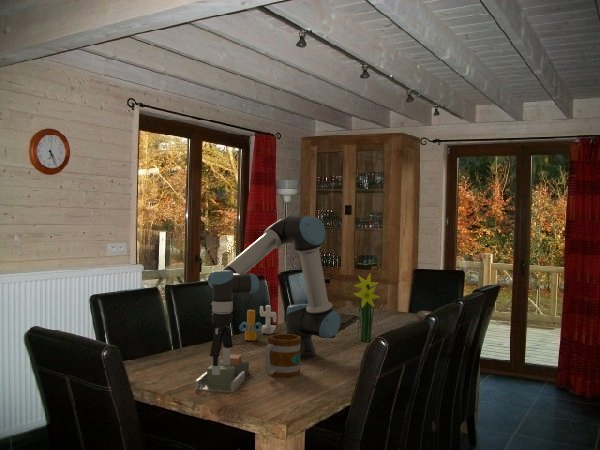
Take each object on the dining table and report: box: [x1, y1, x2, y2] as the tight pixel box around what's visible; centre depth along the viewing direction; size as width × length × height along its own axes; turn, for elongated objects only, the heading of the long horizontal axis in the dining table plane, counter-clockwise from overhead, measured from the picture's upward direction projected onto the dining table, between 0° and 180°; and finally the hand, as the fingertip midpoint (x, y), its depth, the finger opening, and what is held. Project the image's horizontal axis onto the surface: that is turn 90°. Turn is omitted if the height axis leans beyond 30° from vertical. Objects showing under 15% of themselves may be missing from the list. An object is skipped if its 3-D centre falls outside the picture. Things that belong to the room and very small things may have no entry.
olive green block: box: [206, 364, 235, 386], centre depth 212 cm, size 9×5×6 cm, turn 82°
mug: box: [264, 333, 301, 379], centre depth 226 cm, size 20×14×15 cm
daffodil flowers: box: [352, 272, 381, 344], centre depth 292 cm, size 17×15×35 cm
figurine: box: [259, 304, 277, 335], centre depth 311 cm, size 7×9×15 cm
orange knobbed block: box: [239, 309, 263, 342], centre depth 293 cm, size 12×10×15 cm
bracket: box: [194, 370, 246, 393], centre depth 212 cm, size 14×16×4 cm
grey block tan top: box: [220, 353, 250, 378], centre depth 228 cm, size 13×13×7 cm
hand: (221, 369), depth 212 cm, fingers open, 13 cm apart
